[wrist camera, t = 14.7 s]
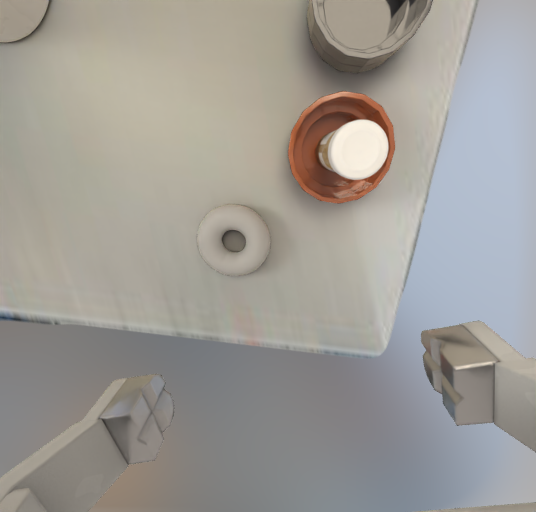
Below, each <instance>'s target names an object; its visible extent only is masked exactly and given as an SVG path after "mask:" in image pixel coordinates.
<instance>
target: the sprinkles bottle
mask: <svg viewBox="0 0 536 512" xmlns="http://www.w3.org/2000/svg"><path fill="white" fill-rule="evenodd" d="M388 147H389V146H388V139H387V136H386V133H385V132H384V130H383V129H382V128H381V127H380V126H379V125H378V124H376V123H375V122H372V121H370V120H355V121H352V122H349V123H347V124H345V125H343V126H342V127H340V128H339V129H337V130H335V131H333V132H331V133H328V134H326V135H325V136H323V137H322V138H321V139H320V141H319V142H318V144H317V146H316V150H315V154H316V159H317V162H318V163H319V165H320V166H321V167H322V168H324V169H326V170H329V171H333V172H336V173H337V174H339V175H340V176H342V177H345V178H348V179H352V180H361V179H365V178H368V177H370V176H372V175H373V174H375V173H376V172H377V171H378V170H379V169H380V168H381V167H382V165H383V164H384V162H385V160H386V158H387V154H388Z"/></svg>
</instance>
